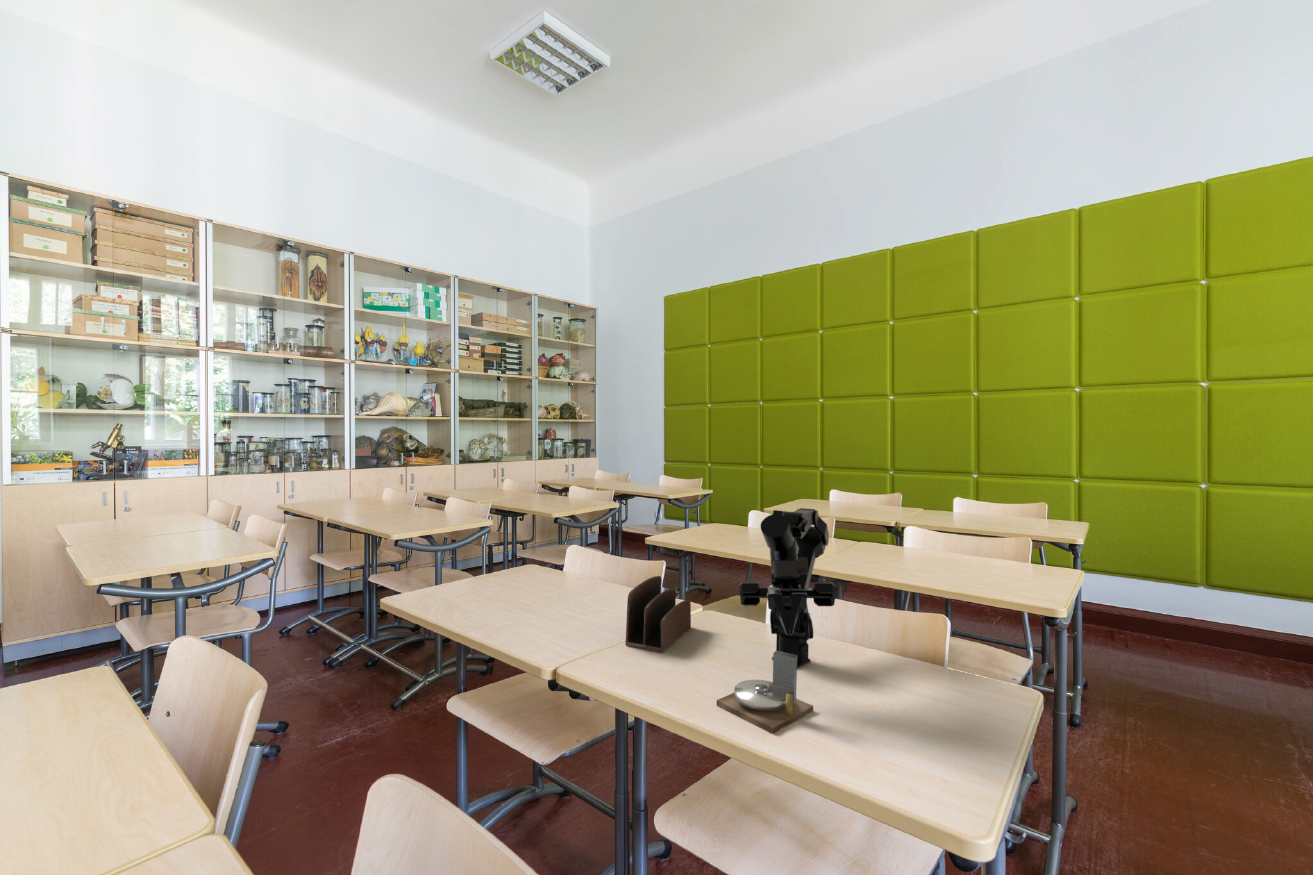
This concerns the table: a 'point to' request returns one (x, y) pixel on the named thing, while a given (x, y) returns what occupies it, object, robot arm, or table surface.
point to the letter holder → (655, 616)
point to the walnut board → (767, 712)
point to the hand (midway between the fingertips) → (789, 634)
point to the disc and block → (770, 685)
